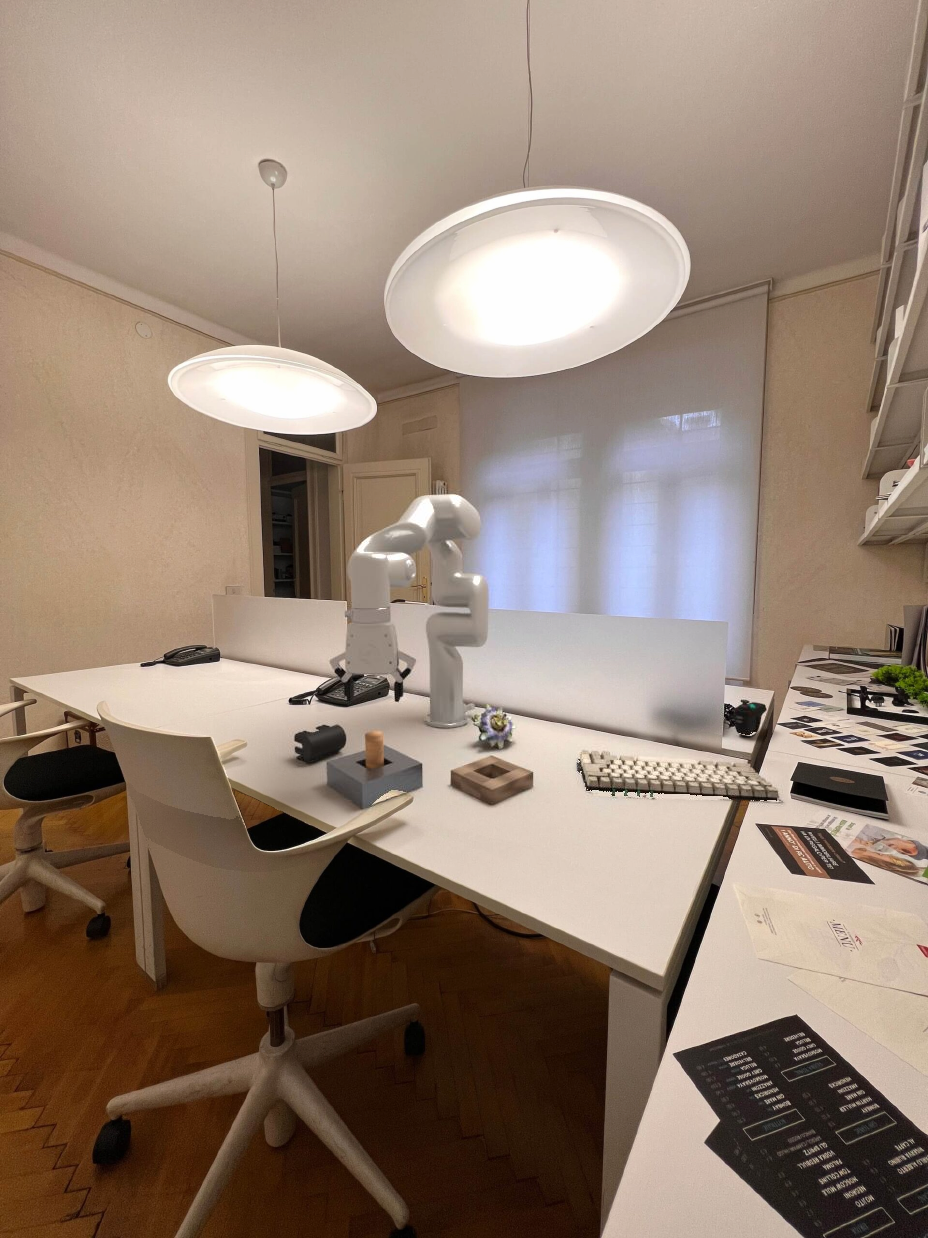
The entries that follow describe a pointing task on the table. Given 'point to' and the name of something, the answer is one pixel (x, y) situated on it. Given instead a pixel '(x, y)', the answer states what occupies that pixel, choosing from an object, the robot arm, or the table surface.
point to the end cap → (319, 742)
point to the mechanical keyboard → (672, 777)
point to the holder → (489, 790)
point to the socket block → (373, 776)
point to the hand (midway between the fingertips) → (374, 700)
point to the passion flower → (494, 726)
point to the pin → (374, 750)
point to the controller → (748, 717)
